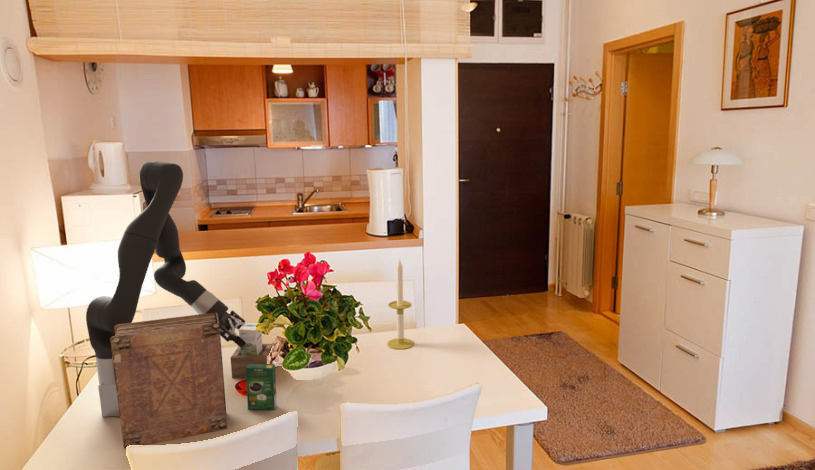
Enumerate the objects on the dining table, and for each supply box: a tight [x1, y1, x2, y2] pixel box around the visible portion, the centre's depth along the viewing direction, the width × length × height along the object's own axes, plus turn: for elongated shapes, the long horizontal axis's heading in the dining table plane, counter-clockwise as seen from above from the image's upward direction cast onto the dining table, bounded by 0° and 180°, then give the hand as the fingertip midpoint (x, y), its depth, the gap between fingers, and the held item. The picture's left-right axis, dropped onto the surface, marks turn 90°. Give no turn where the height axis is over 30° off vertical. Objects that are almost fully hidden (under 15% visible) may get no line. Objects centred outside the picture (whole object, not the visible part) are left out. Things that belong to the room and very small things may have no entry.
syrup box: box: [238, 323, 263, 356], centre depth 181 cm, size 6×6×14 cm
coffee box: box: [245, 363, 277, 411], centre depth 157 cm, size 8×3×13 cm, turn 89°
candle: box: [386, 258, 415, 350], centre depth 200 cm, size 10×10×32 cm
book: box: [110, 312, 228, 450], centre depth 144 cm, size 25×9×30 cm, turn 112°
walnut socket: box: [230, 343, 273, 379], centre depth 182 cm, size 11×11×7 cm
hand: (247, 340), depth 180 cm, fingers open, 8 cm apart
